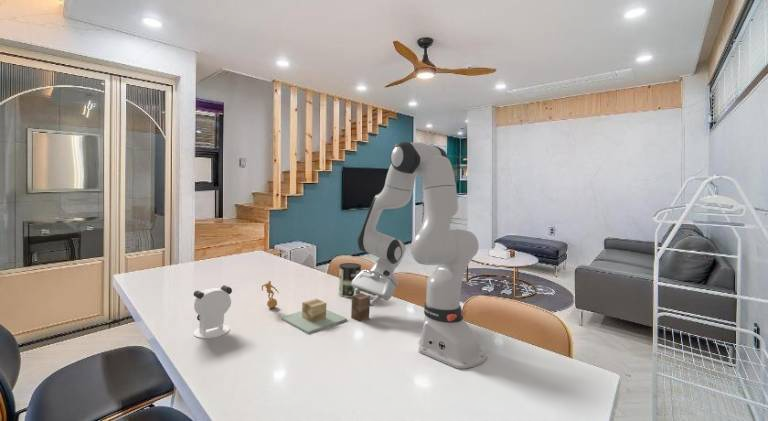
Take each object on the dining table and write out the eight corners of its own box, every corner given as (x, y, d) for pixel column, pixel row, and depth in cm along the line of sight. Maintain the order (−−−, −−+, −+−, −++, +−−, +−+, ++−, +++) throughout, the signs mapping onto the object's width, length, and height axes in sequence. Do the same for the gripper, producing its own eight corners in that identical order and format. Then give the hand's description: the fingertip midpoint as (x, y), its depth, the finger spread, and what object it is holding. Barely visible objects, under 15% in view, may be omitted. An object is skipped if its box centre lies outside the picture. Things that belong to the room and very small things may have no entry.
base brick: (326, 318, 136) (326, 302, 136) (312, 322, 131) (312, 306, 131) (316, 313, 140) (316, 298, 140) (302, 317, 136) (302, 302, 135)
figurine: (283, 307, 147) (283, 279, 146) (274, 312, 142) (274, 283, 141) (266, 304, 150) (267, 277, 149) (257, 309, 144) (257, 280, 143)
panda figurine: (222, 321, 131) (222, 282, 130) (237, 330, 124) (237, 288, 123) (187, 331, 122) (187, 289, 120) (202, 341, 114) (202, 296, 113)
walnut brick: (369, 318, 139) (369, 296, 139) (359, 321, 136) (360, 299, 135) (360, 315, 143) (361, 293, 142) (351, 318, 139) (351, 295, 138)
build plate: (347, 320, 136) (347, 318, 136) (308, 333, 123) (308, 331, 123) (319, 308, 149) (319, 306, 148) (280, 319, 135) (280, 316, 135)
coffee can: (364, 294, 170) (365, 265, 169) (349, 299, 161) (350, 269, 160) (348, 289, 176) (349, 261, 175) (334, 294, 168) (334, 265, 166)
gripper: (359, 264, 151) (341, 291, 145) (395, 274, 137) (376, 304, 131) (366, 273, 155) (348, 299, 148) (401, 283, 141) (384, 313, 134)
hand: (362, 302), depth 139 cm, fingers open, 8 cm apart
